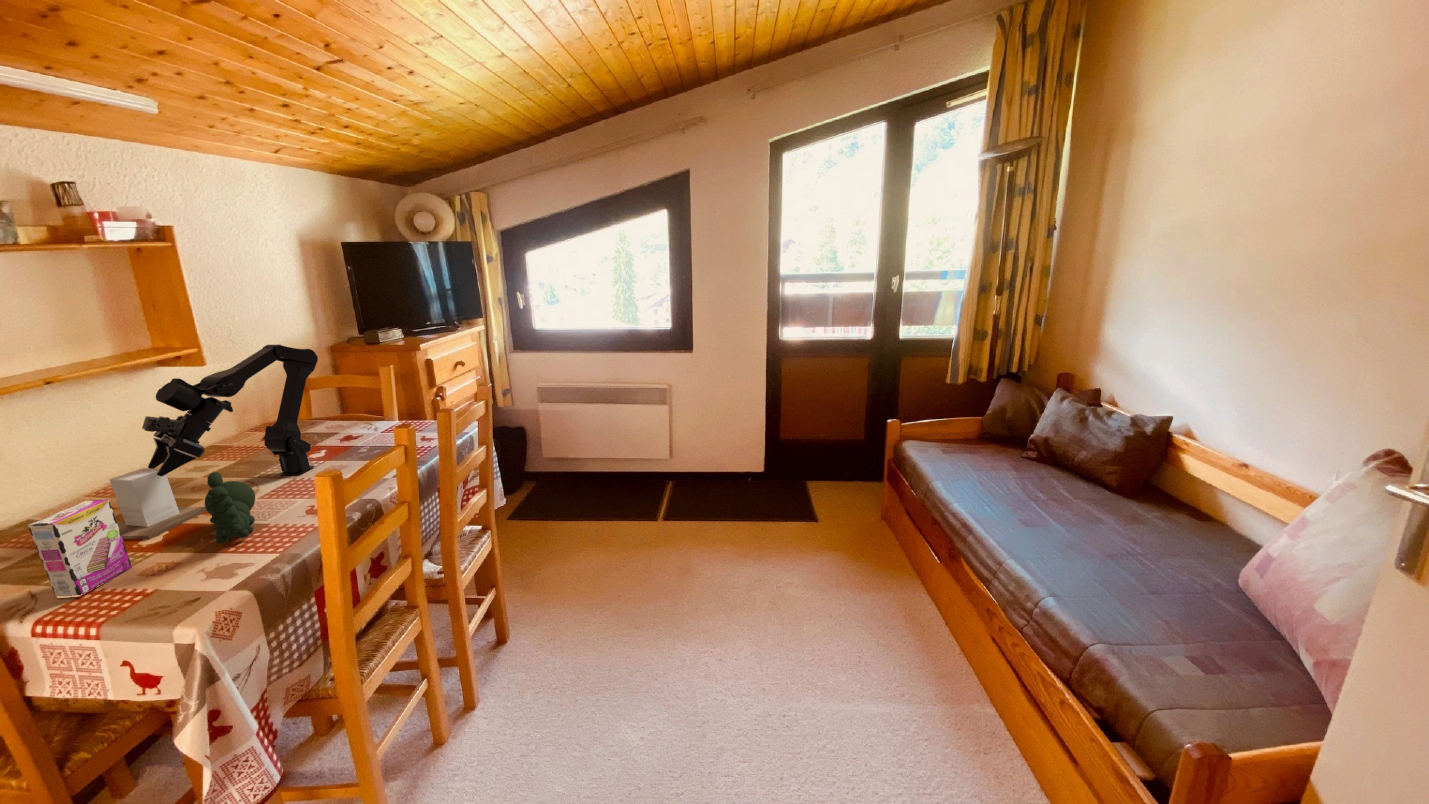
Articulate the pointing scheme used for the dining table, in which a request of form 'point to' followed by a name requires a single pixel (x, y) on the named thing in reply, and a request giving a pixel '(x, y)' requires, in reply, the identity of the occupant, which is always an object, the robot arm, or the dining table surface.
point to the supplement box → (144, 497)
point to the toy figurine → (229, 507)
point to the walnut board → (159, 524)
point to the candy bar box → (80, 547)
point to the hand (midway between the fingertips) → (154, 472)
